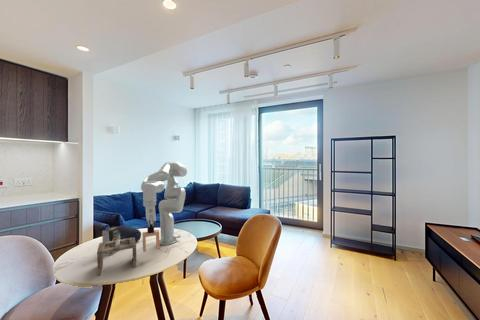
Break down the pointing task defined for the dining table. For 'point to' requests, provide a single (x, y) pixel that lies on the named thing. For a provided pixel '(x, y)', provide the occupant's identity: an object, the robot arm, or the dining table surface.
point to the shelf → (117, 247)
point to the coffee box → (110, 237)
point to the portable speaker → (129, 233)
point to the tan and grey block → (146, 234)
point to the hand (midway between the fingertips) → (150, 231)
